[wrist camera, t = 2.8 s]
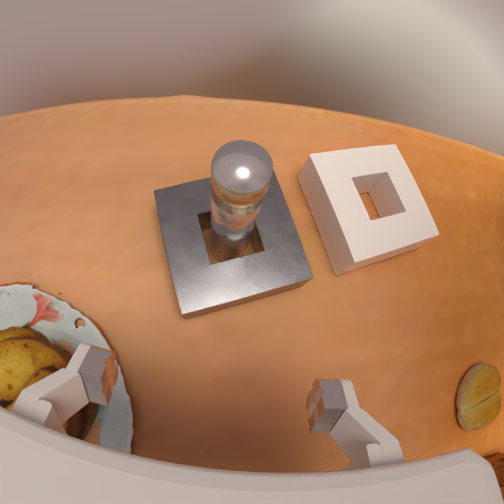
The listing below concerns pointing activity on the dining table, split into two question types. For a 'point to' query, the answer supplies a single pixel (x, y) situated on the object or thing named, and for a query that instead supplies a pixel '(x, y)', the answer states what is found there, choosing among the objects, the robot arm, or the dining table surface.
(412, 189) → the rack block
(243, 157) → the shiny cylindrical peg
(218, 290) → the socket block
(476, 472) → the robot arm
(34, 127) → the dining table surface
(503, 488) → the coffee package
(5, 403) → the food on plate
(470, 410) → the bread roll
